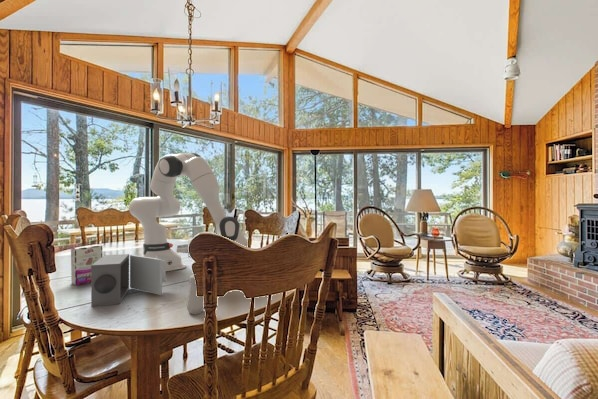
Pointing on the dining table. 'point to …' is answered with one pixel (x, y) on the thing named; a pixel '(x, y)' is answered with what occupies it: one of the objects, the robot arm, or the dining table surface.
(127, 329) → the dining table surface
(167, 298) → the dining table surface
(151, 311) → the dining table surface
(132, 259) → the door
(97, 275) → the housing
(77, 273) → the candy bar box
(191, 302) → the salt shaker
